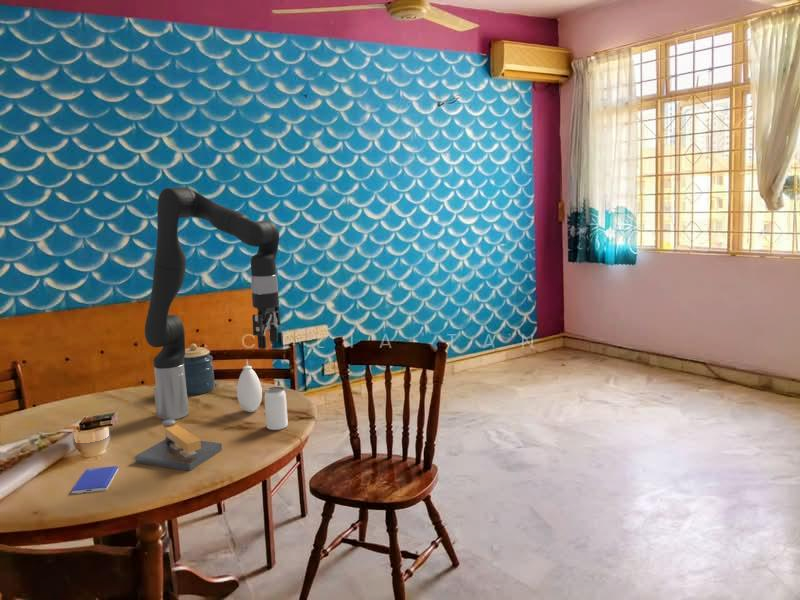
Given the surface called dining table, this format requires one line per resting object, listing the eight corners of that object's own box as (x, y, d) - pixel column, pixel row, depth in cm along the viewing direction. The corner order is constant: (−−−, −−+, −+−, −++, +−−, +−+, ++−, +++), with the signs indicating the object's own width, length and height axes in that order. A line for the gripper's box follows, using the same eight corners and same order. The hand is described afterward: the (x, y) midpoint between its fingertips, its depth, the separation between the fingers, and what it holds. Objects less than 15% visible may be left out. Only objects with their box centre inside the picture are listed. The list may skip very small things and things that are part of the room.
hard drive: (85, 469, 171) (70, 490, 159) (118, 465, 172) (106, 486, 160) (86, 474, 171) (71, 496, 159) (118, 471, 173) (106, 492, 161)
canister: (178, 387, 243) (173, 342, 240) (213, 382, 247) (209, 338, 244) (179, 397, 231) (175, 349, 228) (217, 392, 236) (213, 345, 232)
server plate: (135, 462, 176) (134, 454, 176) (170, 443, 189) (169, 435, 189) (190, 470, 170) (189, 462, 170) (222, 449, 183) (221, 442, 182)
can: (283, 431, 195) (280, 393, 193) (263, 430, 197) (260, 392, 195) (291, 423, 202) (288, 386, 200) (271, 422, 203) (268, 385, 201)
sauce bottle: (254, 416, 209) (249, 362, 206) (234, 414, 212) (229, 361, 209) (267, 408, 216) (263, 356, 213) (248, 406, 219) (243, 355, 216)
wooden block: (162, 439, 186) (160, 421, 185) (174, 435, 189) (172, 418, 188) (188, 459, 171) (186, 440, 170) (201, 455, 174) (200, 437, 173)
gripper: (262, 286, 194) (266, 338, 197) (241, 294, 181) (245, 350, 183) (286, 286, 193) (289, 339, 196) (267, 294, 179) (270, 351, 182)
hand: (268, 344), depth 190 cm, fingers open, 8 cm apart
